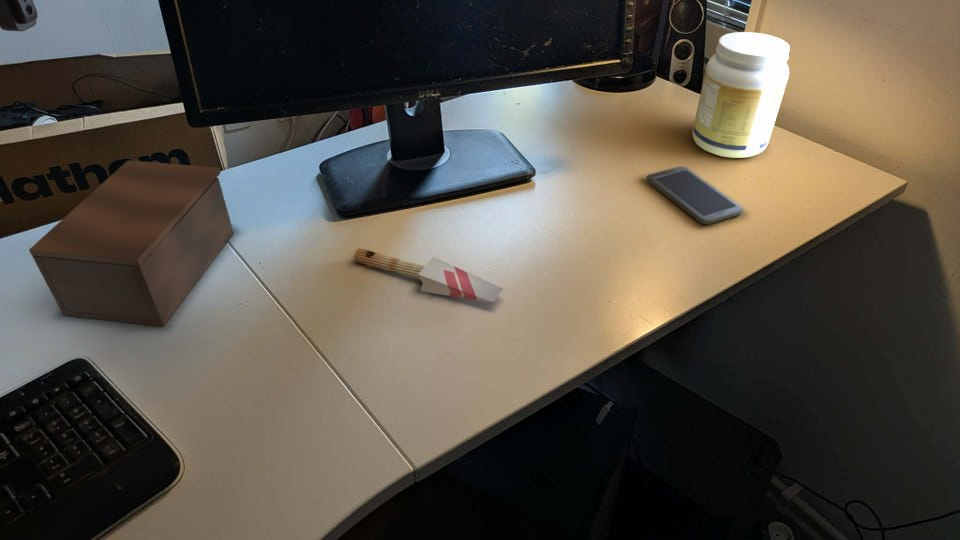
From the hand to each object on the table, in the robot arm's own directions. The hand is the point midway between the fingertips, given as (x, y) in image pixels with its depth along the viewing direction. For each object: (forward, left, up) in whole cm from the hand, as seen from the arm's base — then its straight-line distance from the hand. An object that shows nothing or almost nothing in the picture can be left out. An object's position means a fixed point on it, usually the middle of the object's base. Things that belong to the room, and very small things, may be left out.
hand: (20, 27), depth 52 cm
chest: (+11, +8, -35) cm, 38 cm away
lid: (+11, +9, -26) cm, 30 cm away
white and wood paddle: (+19, -25, -35) cm, 47 cm away
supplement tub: (+68, -61, -35) cm, 98 cm away
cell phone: (+49, -56, -35) cm, 82 cm away
